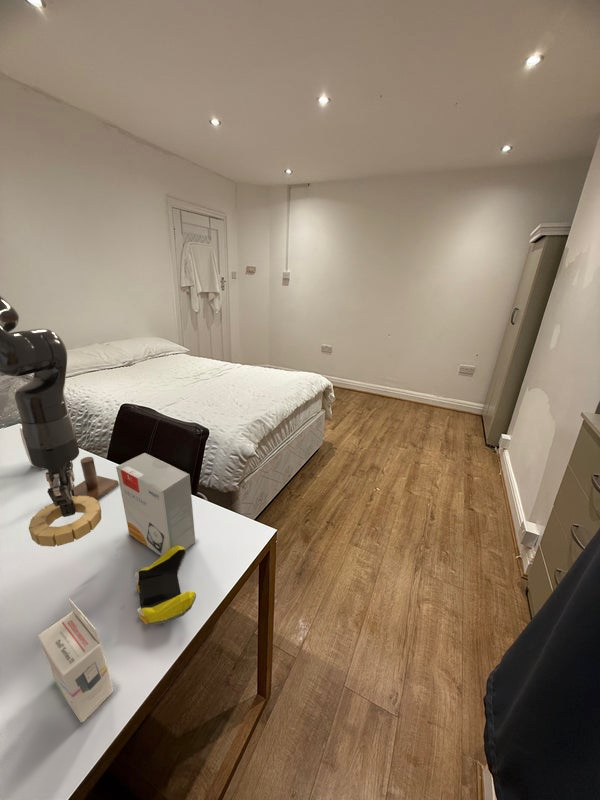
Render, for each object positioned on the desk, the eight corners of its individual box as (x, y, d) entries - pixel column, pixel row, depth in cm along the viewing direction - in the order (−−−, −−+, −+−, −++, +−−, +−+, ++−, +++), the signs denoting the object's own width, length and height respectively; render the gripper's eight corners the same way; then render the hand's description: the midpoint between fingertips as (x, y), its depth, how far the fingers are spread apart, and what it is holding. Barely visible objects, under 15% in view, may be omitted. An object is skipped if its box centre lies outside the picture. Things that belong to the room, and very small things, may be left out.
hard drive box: (127, 535, 78) (114, 465, 71) (155, 516, 84) (145, 451, 77) (171, 564, 71) (161, 490, 64) (197, 541, 77) (191, 472, 70)
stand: (67, 496, 90) (58, 464, 86) (94, 478, 98) (87, 448, 94) (93, 503, 88) (85, 471, 84) (118, 484, 96) (113, 454, 92)
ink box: (54, 684, 50) (29, 621, 45) (88, 655, 54) (69, 594, 48) (80, 726, 46) (57, 661, 40) (115, 691, 50) (98, 628, 44)
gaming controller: (185, 558, 73) (136, 575, 68) (183, 540, 71) (133, 555, 66) (199, 618, 61) (141, 642, 56) (197, 597, 59) (136, 621, 54)
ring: (15, 537, 60) (12, 527, 59) (71, 499, 70) (69, 490, 69) (64, 553, 57) (61, 543, 56) (115, 511, 67) (113, 502, 67)
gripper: (32, 425, 64) (52, 495, 71) (17, 460, 53) (42, 539, 60) (77, 419, 68) (92, 486, 74) (72, 450, 57) (90, 526, 63)
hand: (70, 509), depth 67 cm, fingers closed on ring, 2 cm apart
